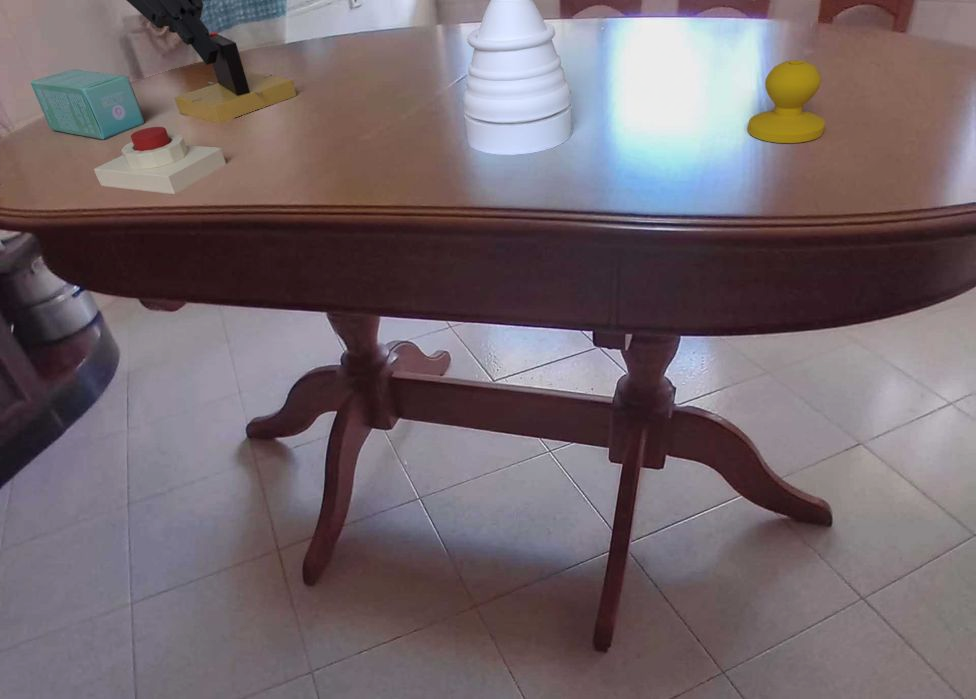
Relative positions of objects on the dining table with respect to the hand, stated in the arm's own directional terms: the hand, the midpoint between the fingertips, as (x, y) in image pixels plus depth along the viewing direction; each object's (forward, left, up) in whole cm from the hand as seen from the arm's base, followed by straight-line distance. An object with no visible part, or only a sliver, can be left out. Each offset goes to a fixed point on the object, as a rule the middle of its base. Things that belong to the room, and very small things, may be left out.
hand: (212, 57), depth 102 cm
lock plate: (0, +3, -8) cm, 8 cm away
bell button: (+10, -23, -4) cm, 26 cm away
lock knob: (0, +3, -5) cm, 6 cm away
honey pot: (+49, -3, -8) cm, 49 cm away
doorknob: (+79, +3, -8) cm, 79 cm away
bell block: (+10, -23, -8) cm, 26 cm away
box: (-16, -10, -8) cm, 21 cm away
